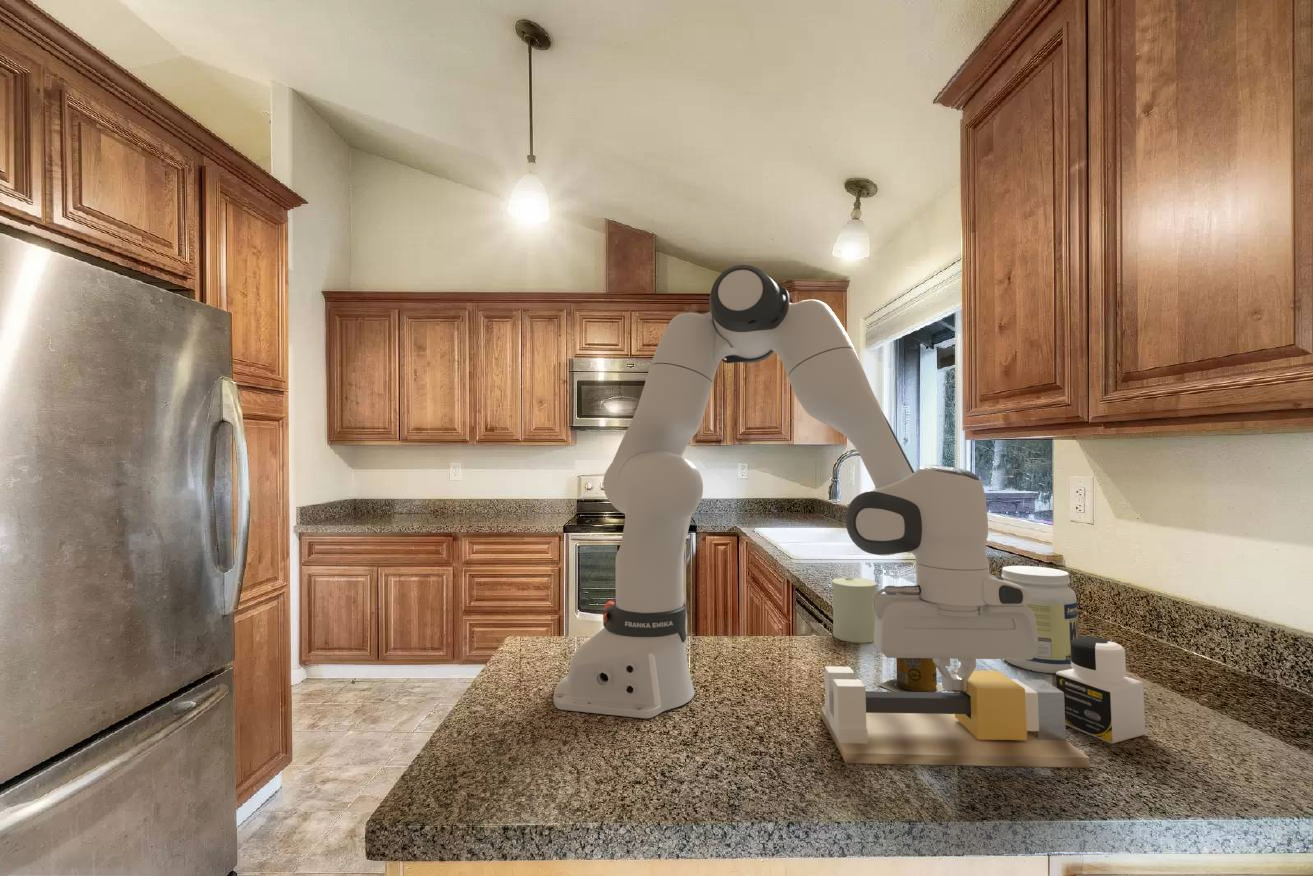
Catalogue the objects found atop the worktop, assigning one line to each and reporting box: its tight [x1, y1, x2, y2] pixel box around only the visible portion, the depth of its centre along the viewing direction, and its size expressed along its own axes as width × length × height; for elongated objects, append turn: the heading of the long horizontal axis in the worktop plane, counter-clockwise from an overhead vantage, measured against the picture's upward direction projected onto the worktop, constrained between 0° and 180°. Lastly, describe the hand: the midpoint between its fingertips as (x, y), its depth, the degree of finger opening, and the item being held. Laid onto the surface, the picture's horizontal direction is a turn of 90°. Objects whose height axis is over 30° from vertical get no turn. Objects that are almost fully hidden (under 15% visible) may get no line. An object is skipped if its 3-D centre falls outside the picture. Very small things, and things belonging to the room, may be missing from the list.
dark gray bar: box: [833, 690, 971, 714], centre depth 77 cm, size 26×2×2 cm, turn 87°
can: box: [831, 577, 878, 644], centre depth 122 cm, size 9×9×12 cm
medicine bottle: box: [1055, 636, 1146, 745], centre depth 79 cm, size 7×7×12 cm
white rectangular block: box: [1010, 678, 1039, 731], centre depth 76 cm, size 2×5×5 cm, turn 177°
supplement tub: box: [1000, 565, 1079, 674], centre depth 105 cm, size 12×12×17 cm
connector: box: [1016, 678, 1067, 741], centre depth 76 cm, size 3×4×6 cm
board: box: [820, 707, 1091, 769], centre depth 76 cm, size 29×13×1 cm, turn 87°
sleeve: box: [953, 669, 1027, 740], centre depth 76 cm, size 6×6×6 cm
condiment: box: [877, 658, 946, 692], centre depth 94 cm, size 7×8×12 cm
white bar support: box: [824, 665, 868, 744], centre depth 77 cm, size 4×8×7 cm, turn 177°
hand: (954, 690), depth 76 cm, fingers closed
